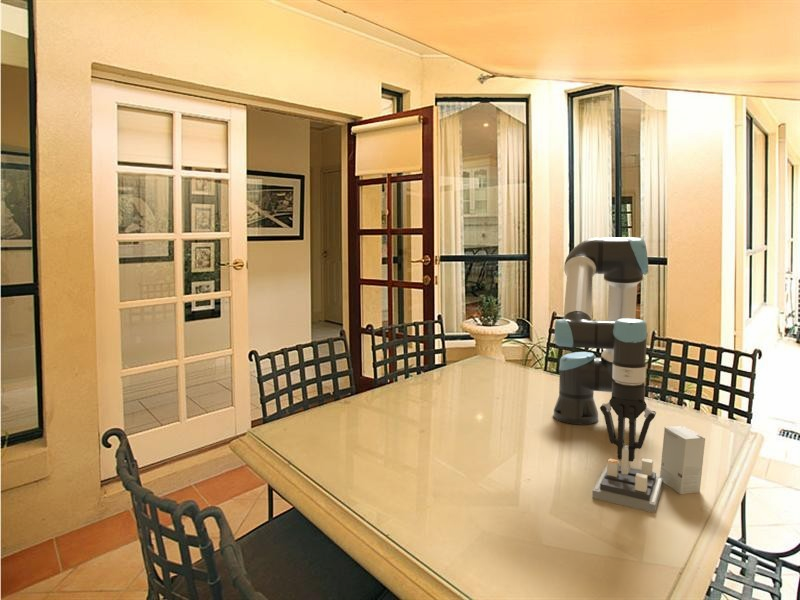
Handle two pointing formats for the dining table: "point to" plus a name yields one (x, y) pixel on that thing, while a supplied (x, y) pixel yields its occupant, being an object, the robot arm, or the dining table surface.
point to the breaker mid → (612, 467)
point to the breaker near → (641, 482)
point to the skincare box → (682, 459)
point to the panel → (628, 499)
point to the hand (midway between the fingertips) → (625, 472)
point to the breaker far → (646, 466)
